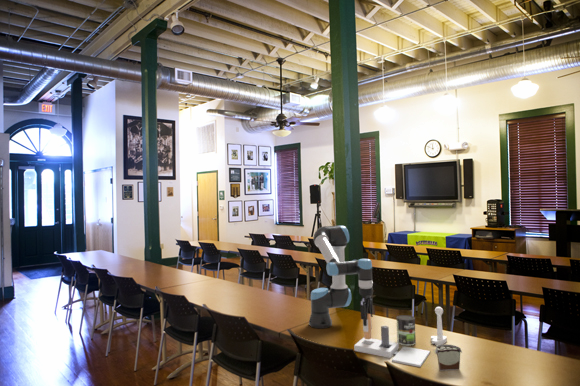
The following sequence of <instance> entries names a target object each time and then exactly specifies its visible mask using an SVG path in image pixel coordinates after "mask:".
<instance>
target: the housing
mask: <svg viewBox="0 0 580 386" xmlns="http://www.w3.org/2000/svg"><path fill="white" fill-rule="evenodd" d="M399 346H400V344H399V343H397V342H395V341H389V348H383V347H382V342H381V339H377V338H371V339H365V338H364V337H362V338H361V339H359V341H357V342H356V343H355V344H354V347H353V348H354V352H358V353H364V354H369V355H374V356H380V357H383V358H384V357H385V358H389V359H390V358H391V359H392V358H393V356H394V355H393V353H394V352H395V351H398V350H399V349H400V347H399Z"/></svg>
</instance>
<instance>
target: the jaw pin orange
mask: <svg viewBox="0 0 580 386" xmlns="http://www.w3.org/2000/svg"><path fill="white" fill-rule="evenodd" d="M367 319H368V330H369V332H365V331H363V338H365V339H371V338H372V337H373V336H372V329H371V325H372V317H371V314H369V313H367ZM372 339H373V338H372Z"/></svg>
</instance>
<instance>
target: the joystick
mask: <svg viewBox="0 0 580 386" xmlns="http://www.w3.org/2000/svg"><path fill="white" fill-rule="evenodd" d="M434 312H435V314H436V335H431V336H430V341H431V344H432V345H434V346H436V347H437V346H438V345H443V344H446V343H447V341H448V340H447V339H448V337H447V336H446V335H443V322H442V315H443V314H444V309H443V308H442V307H441V306H436V307H435V309H434Z"/></svg>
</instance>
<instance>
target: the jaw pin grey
mask: <svg viewBox="0 0 580 386" xmlns="http://www.w3.org/2000/svg"><path fill="white" fill-rule="evenodd" d="M380 337H381V338H380V340H381V342H382V347H383V348H389V342H390V330H389V326H387V325H381V326H380Z"/></svg>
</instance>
